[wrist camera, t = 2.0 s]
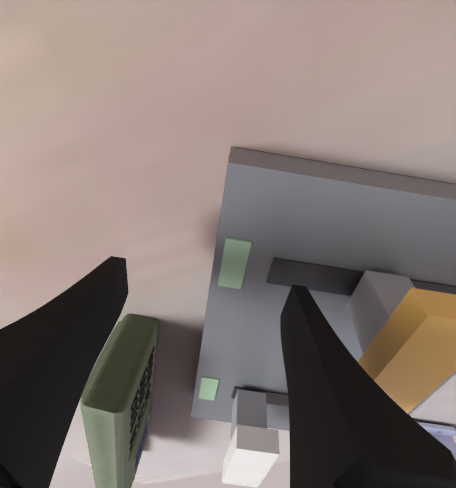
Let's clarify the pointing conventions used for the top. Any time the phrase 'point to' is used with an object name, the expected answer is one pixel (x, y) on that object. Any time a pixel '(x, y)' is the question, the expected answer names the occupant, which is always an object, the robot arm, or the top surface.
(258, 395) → the white switch
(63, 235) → the top surface
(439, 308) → the amber switch
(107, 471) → the handheld radio
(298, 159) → the switch panel
